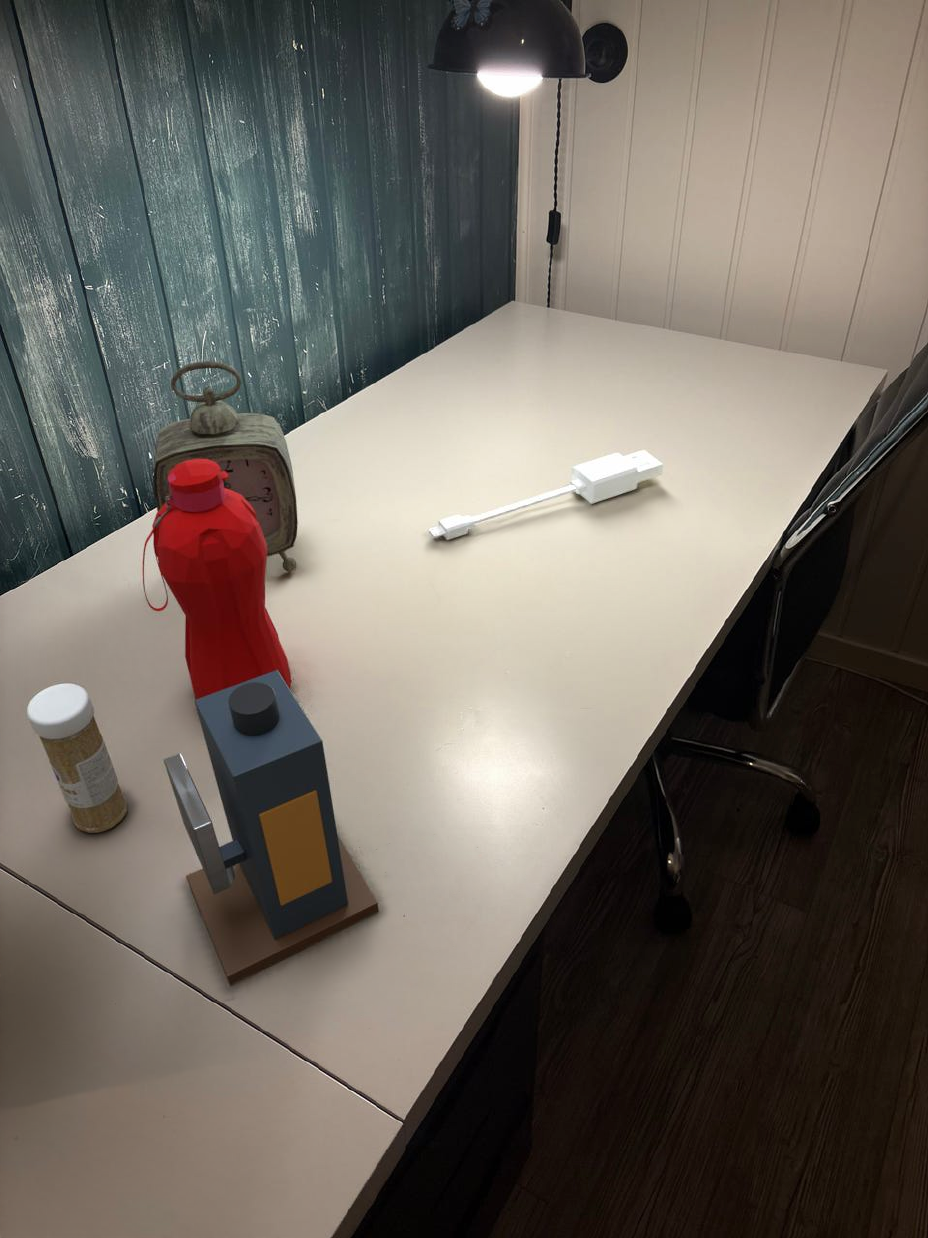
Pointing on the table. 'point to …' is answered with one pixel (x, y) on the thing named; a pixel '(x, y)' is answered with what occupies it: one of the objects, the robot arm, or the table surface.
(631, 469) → the charging cable
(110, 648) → the table surface
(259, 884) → the dispenser
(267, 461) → the tabletop clock
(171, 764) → the brushed metal plate
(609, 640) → the table surface
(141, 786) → the table surface
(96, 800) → the sprinkles bottle
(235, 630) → the water bottle
